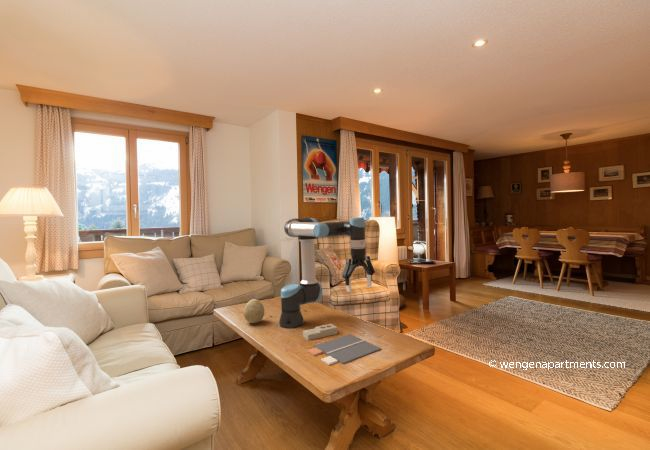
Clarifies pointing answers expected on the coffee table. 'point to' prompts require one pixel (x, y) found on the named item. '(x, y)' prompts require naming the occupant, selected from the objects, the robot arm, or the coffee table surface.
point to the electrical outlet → (320, 331)
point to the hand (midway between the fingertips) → (359, 289)
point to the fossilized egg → (254, 311)
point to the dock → (343, 349)
